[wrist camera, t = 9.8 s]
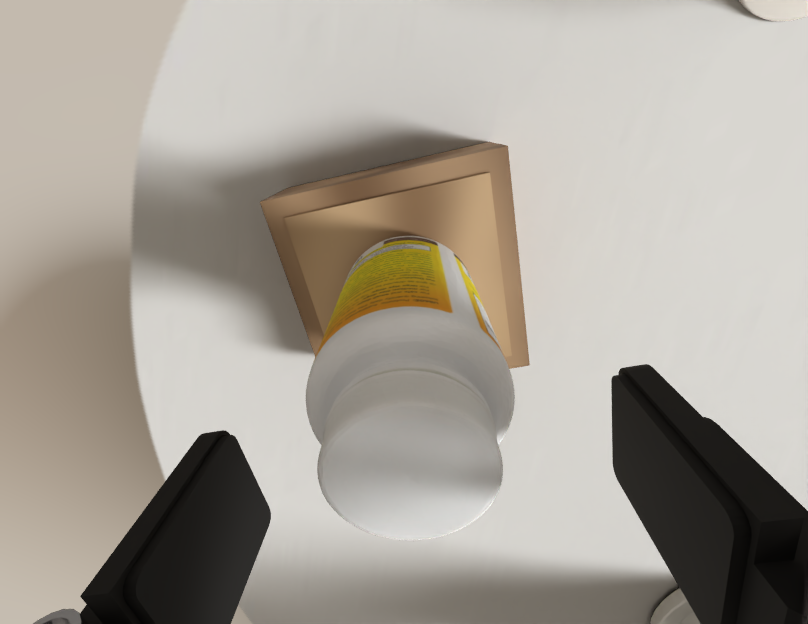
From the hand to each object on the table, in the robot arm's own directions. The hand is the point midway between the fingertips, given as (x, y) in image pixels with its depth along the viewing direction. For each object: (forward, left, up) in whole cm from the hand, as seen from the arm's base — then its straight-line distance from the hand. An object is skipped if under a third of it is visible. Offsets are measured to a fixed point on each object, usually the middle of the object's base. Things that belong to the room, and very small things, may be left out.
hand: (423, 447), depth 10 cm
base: (0, -1, -13) cm, 13 cm away
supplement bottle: (0, -1, -9) cm, 9 cm away
